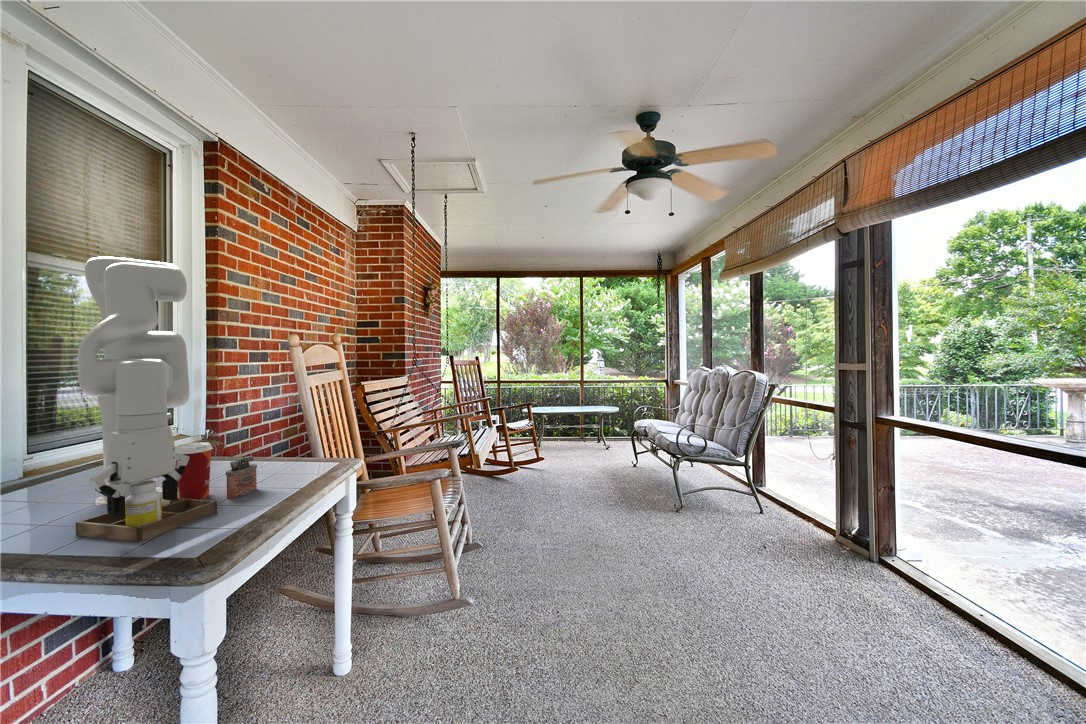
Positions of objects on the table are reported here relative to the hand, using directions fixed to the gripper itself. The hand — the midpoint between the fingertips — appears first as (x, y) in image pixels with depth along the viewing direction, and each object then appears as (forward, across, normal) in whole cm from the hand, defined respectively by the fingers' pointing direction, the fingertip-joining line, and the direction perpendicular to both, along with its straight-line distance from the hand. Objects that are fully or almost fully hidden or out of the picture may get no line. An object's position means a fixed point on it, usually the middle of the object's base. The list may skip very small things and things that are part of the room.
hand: (145, 507), depth 88 cm
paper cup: (+6, -19, -11) cm, 22 cm away
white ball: (+5, -8, -8) cm, 12 cm away
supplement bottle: (+5, 0, 0) cm, 5 cm away
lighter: (+6, -24, -2) cm, 25 cm away
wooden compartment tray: (+6, -4, -4) cm, 8 cm away
